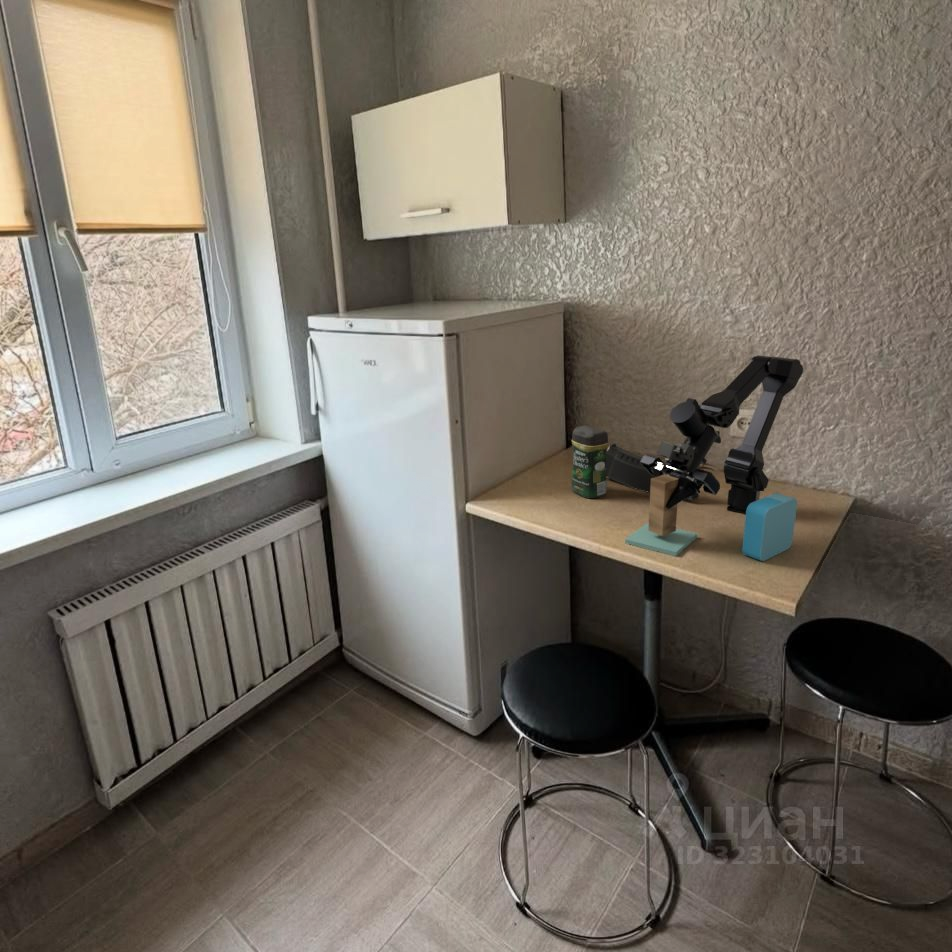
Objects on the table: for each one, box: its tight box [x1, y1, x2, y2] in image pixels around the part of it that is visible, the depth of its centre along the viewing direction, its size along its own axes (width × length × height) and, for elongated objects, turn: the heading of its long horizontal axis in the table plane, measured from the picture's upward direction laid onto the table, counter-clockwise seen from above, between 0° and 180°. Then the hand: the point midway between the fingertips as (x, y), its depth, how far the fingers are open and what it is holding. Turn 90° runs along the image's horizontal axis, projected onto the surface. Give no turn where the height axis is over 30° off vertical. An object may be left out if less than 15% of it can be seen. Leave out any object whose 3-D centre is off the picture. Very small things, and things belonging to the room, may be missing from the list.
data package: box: [741, 492, 798, 562], centre depth 140 cm, size 12×4×12 cm, turn 125°
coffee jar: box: [570, 424, 609, 499], centre depth 177 cm, size 10×8×19 cm
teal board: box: [624, 521, 698, 557], centre depth 150 cm, size 12×12×1 cm
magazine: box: [606, 442, 699, 501], centre depth 179 cm, size 17×3×30 cm
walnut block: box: [648, 474, 679, 536], centre depth 147 cm, size 4×4×12 cm
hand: (659, 505), depth 146 cm, fingers closed on walnut block, 4 cm apart
